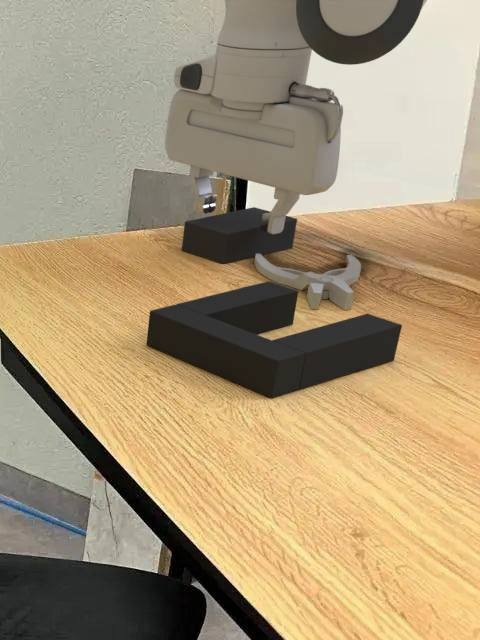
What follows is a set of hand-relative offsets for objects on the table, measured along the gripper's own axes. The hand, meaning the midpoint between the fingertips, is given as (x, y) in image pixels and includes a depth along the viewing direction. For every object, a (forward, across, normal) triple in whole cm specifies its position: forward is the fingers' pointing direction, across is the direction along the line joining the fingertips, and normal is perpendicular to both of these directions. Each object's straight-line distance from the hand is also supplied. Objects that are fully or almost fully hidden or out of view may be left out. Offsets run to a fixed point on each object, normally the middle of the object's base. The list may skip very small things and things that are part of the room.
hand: (236, 221), depth 118 cm
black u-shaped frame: (+3, -23, +20) cm, 31 cm away
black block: (+3, 0, 0) cm, 3 cm away
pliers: (+3, -13, +2) cm, 14 cm away
